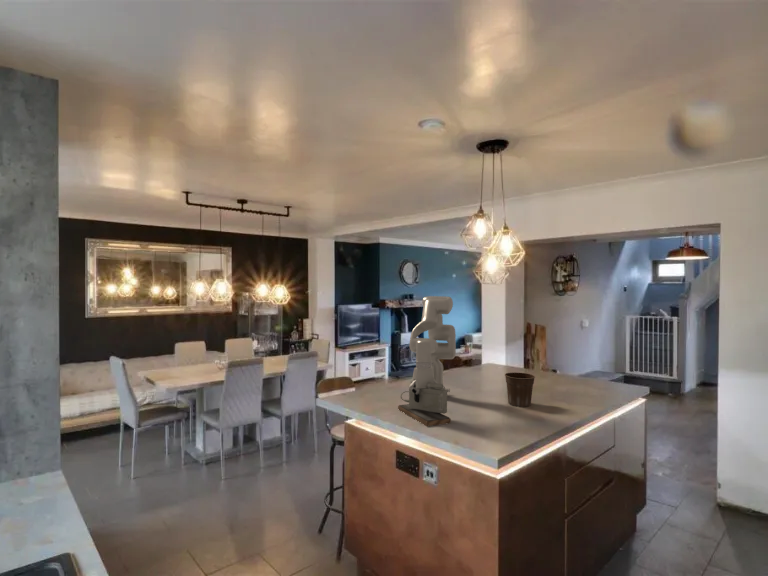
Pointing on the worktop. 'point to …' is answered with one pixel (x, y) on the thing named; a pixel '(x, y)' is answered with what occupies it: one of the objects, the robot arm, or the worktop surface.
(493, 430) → the worktop surface
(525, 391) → the plant pot
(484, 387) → the worktop surface
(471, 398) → the worktop surface
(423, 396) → the geiger counter
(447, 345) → the robot arm
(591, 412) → the worktop surface
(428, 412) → the brown wooden board
